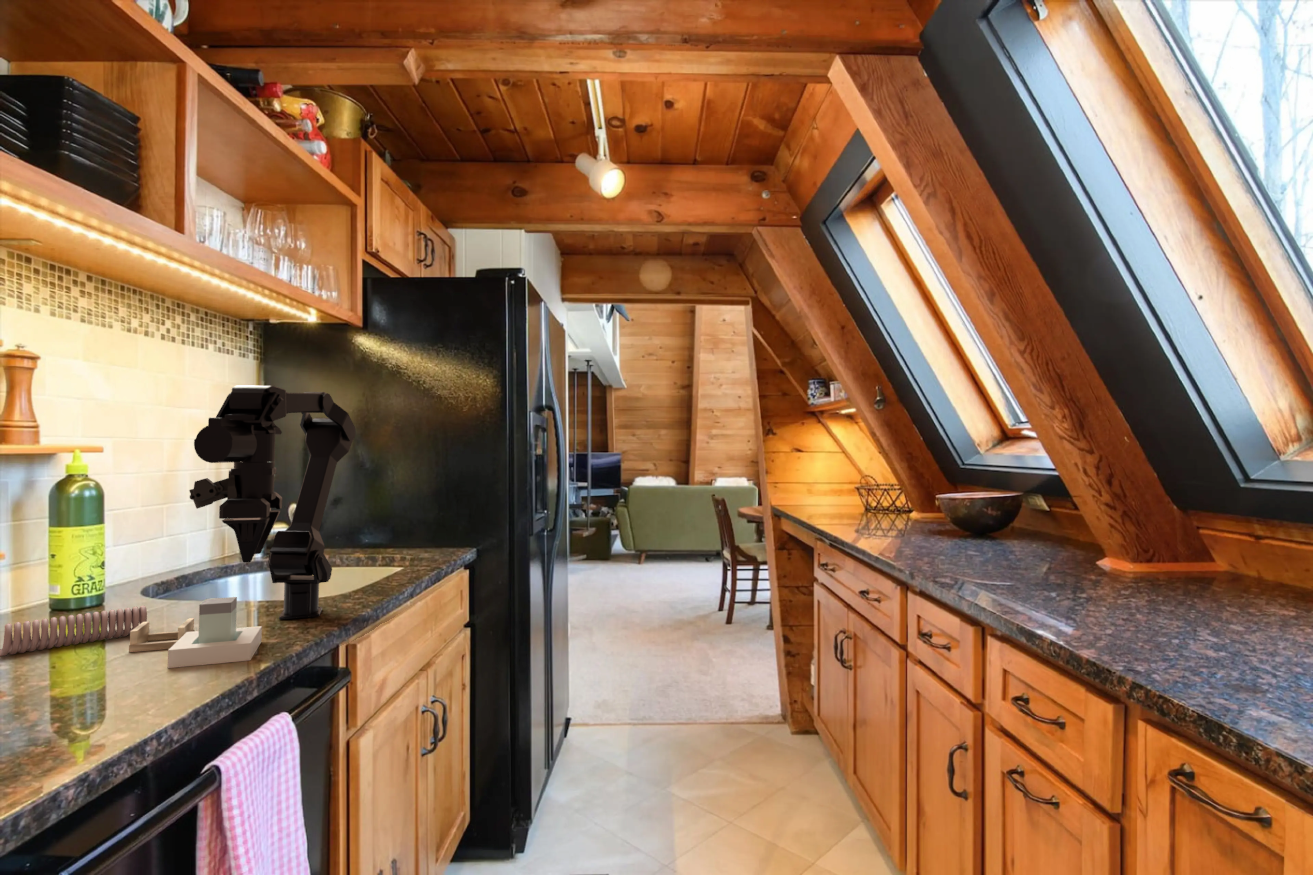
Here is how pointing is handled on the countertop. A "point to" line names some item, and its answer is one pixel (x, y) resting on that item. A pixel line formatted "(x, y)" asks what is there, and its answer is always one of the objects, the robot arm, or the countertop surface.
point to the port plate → (214, 649)
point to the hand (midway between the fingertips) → (252, 557)
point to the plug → (217, 620)
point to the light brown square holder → (156, 637)
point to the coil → (71, 630)
